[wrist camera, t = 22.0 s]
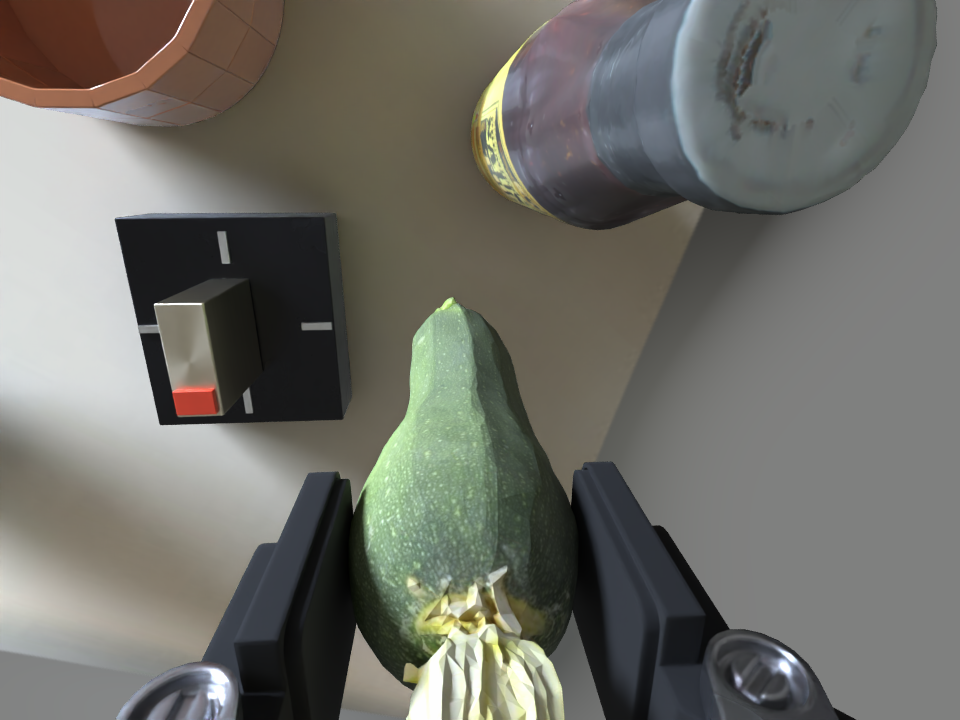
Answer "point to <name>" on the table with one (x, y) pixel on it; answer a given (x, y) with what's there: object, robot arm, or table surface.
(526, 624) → the vegetable
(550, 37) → the sauce bottle
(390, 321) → the table surface
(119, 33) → the terracotta pot
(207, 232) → the panel
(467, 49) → the table surface
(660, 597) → the robot arm
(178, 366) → the hob knob
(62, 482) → the table surface
